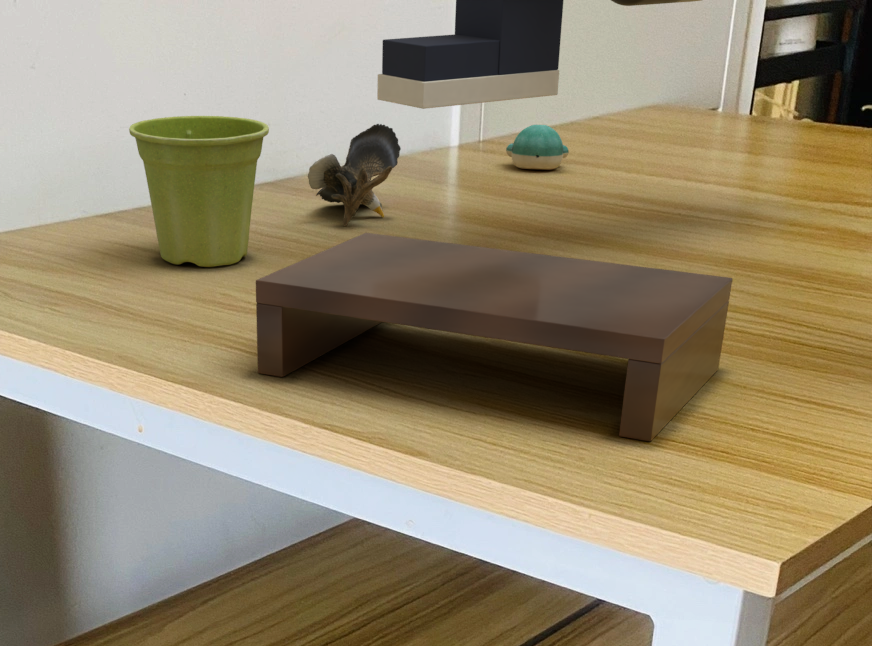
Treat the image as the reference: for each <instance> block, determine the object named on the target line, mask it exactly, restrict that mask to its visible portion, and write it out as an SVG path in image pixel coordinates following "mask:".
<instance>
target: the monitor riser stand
mask: <svg viewBox="0 0 872 646" xmlns="http://www.w3.org/2000/svg"><path fill="white" fill-rule="evenodd" d="M732 285H733V277H729V276H721V275H711V274H703V273H695V272H689V271H688V272H687V271H679V270H673V269H672V270H670V269H662V268H655V267H646V266H640V265H639V266H638V265H630V264H623V263H615V262H607V261H606V262H605V261H599V260H592V259H591V260H590V259H581V258H574V257H567V256H557V255H550V254H541V253H533V252H526V251H517V250H509V249H503V248H502V249H500V248H494V247H485V246H478V245H477V246H476V245H468V244H461V243H453V242H452V243H451V242H445V241H438V240H437V241H435V240H428V239H419V238H411V237H404V236H397V235H388V234H379V233H371V232H364V233H362V234H360V235H357V236H355V237H352V238H350V239H348V240H345V241H343V242H341V243H338V244H337V245H334V246H331V247H329V248H327V249H325V250H322V251H320V252H318V253H316V254H313V255H311V256H309V257H306V258H304V259H301V260H300V261H296V262H295V263H293V264H290V265H288V266H286V267H283V268H281V269H279V270H276V271H274V272H272V273H269V274H268V275H264V276H262V277H260V278H258V279H255V302H256V303H255V307H256V311H255V312H256V352H257V353H256V355H257V356H256V359H257V374H261V375H266V376H272V377H279V378H283V377H286V376H287V375H289V374H291V373H293V372H294V371H296V370H298V369H301V368H302V367H304V366H305V365H307V364H309V363H311V362H313V361H315V360H316V359H318V358H320V357H322V356H323V355H325V354H327V353H329V352H331V351H333V350H334V349H337V348H338V347H340V346H342V345H343V344H346V343H347V342H349V341H351V340H352V339H354V338H356V337H358V336H360V335H361V334H363V333H365V332H367V331H369V330H370V329H372V328H374V327H376V326H378V325H380V324H381V323H387V324H393V325H394V324H395V325H400V326H407V327H412V328H413V327H414V328H421V329H427V330H434V331H441V332H446V333H452V334H460V335H466V336H473V337H480V338H485V339H486V338H487V339H492V340H500V341H507V342H514V343H519V344H526V345H534V346H540V347H545V348H551V349H559V350H565V351H572V352H579V353H585V354H591V355H592V354H593V355H599V356H606V357H613V358H620V359H626V360H627V367H626V376H625V382H624V390H623V391H624V392H623V398H622V399H623V400H622V408H621V416H620V424H619V433H618V436H619V437H622V438H628V439H634V440H637V441H638V440H639V441H645V442H652V441H653V440H654V439H655V437H656V436H657V435H658V434H659V433H660V432H661V431H662V430H663V429H664V428H665V427H666V426H667V425H668V423H670V422H671V420H672V419H673V418H674V417H675V416H676V415H677V414H678V413H679V412H680V411H681V410H682V409H683V408H684V407H685V406H686V405H687V404H688V403H689V401H690V400H691V399H692V398H693V397H694V396H695V394H697V393H698V392H699V391H700V389H702V387H703V386H704V385H705V384H706V383H708V381H709V380H710V379H711V378H712V377H713V376H714V375H715V374H716V372H718V370H719V367H720V361H721V355H722V348H723V341H724V336H725V329H726V322H727V317H728V312H729V311H728V310H729V305H730V297H731V291H732Z"/></svg>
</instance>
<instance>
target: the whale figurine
mask: <svg viewBox="0 0 872 646" xmlns="http://www.w3.org/2000/svg"><path fill="white" fill-rule="evenodd" d="M505 152H506V154H507V156H508V157H511V161H512V163H513V165H514V166H515V167H516V168H518V169H525V170H555V169H557V168H558V167H560V166H561V165H562V162H563V159H566V158H567V157H568V156H569V154H570V151H569V148H568V147H567V145H565V144H564V143H563V140H562V138H561V136H560V134H559V133H558V131H556V130H555V129H554V128H553V127H551V126H549V125H547V124H532V125H529V126H526V127H525V128H523V129H522V130H521V131H519V132H518V134H517V135H516V136H515V139H514V141H513V142H512V143H509V144H508V145H507V146H506V149H505Z"/></svg>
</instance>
